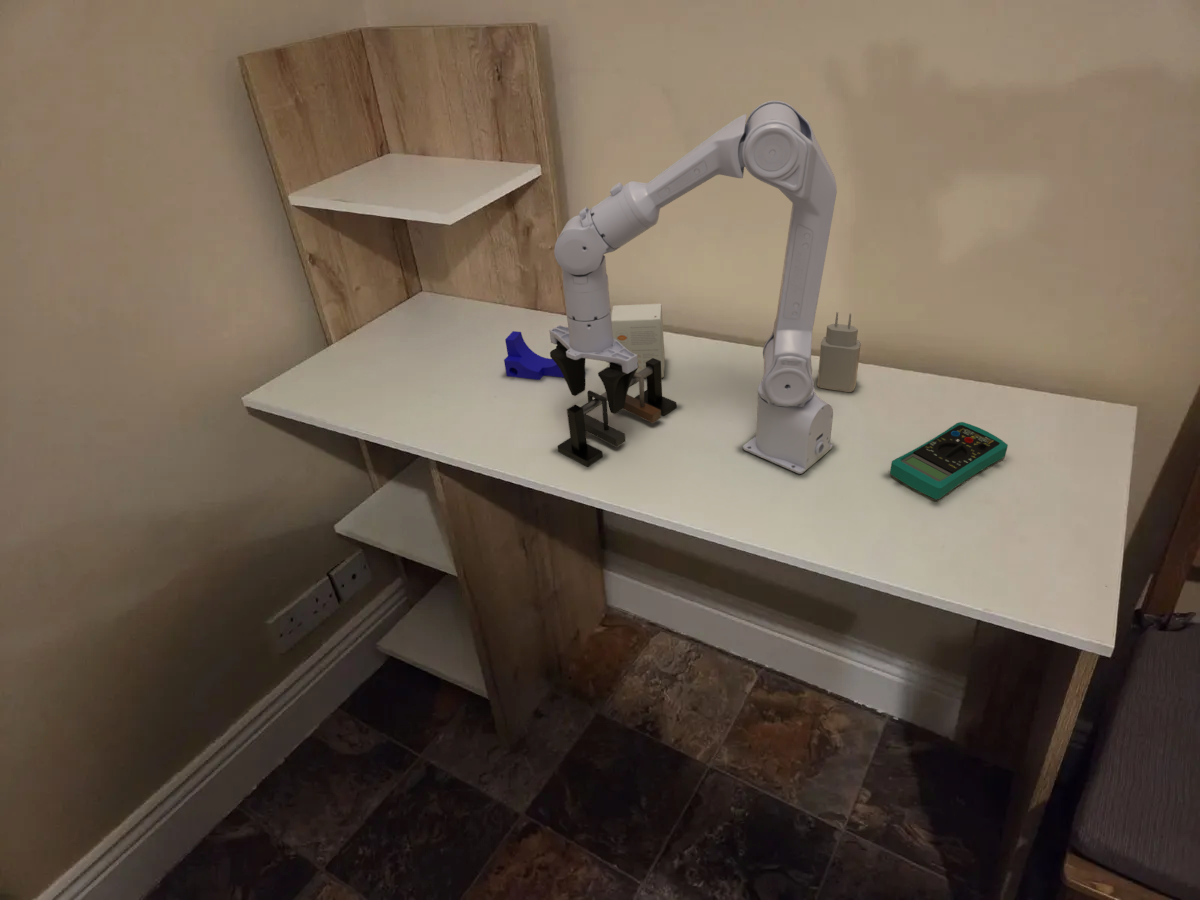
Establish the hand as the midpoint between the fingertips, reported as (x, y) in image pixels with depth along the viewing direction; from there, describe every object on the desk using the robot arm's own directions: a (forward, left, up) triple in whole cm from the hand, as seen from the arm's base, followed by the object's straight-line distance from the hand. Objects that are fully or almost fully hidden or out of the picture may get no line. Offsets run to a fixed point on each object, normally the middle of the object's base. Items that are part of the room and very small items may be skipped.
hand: (597, 401), depth 112 cm
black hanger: (0, 0, -6) cm, 6 cm away
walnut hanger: (0, -8, -6) cm, 9 cm away
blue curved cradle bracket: (+21, -8, -7) cm, 24 cm away
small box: (+9, -18, -7) cm, 22 cm away
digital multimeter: (-40, -23, -7) cm, 47 cm away
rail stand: (0, -4, -7) cm, 8 cm away
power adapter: (-18, -33, -3) cm, 38 cm away
